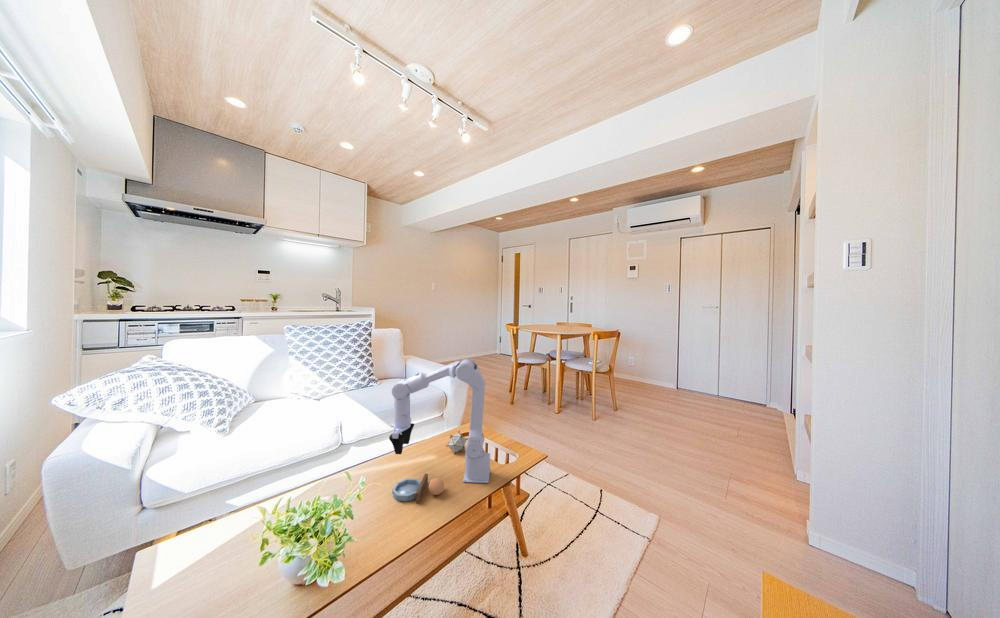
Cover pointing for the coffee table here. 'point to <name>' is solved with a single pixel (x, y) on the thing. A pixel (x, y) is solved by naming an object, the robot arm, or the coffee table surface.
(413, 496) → the dish
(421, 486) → the wooden block
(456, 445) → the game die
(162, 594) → the coffee table surface
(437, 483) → the ball
